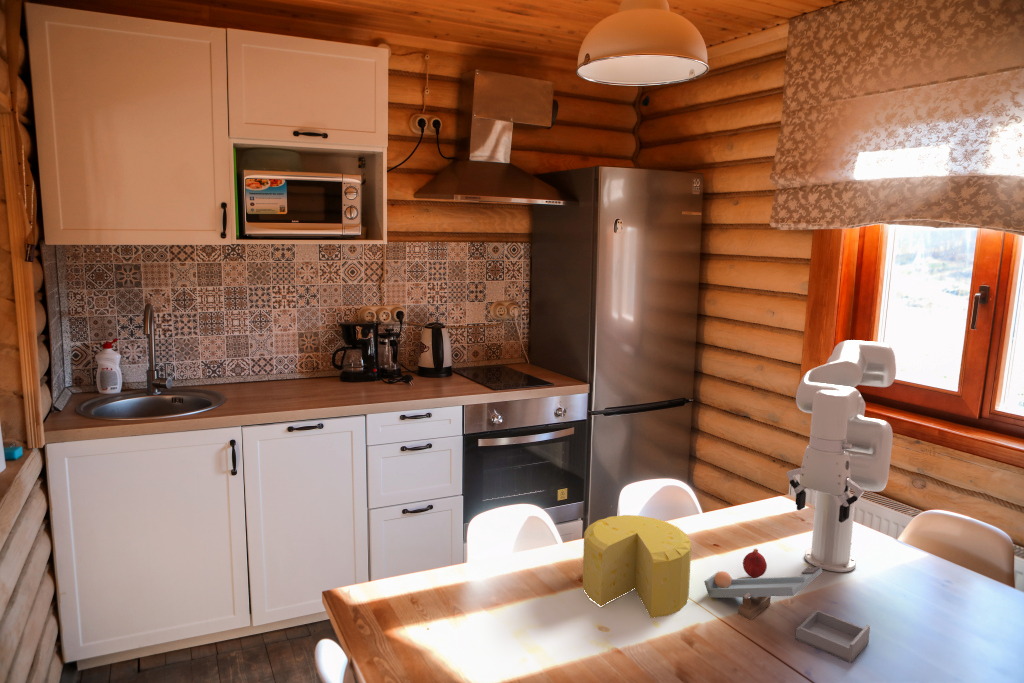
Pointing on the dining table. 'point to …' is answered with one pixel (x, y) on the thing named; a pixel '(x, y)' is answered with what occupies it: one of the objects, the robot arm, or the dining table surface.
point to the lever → (763, 585)
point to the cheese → (637, 562)
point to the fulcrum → (753, 606)
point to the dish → (833, 635)
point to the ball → (723, 579)
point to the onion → (754, 564)
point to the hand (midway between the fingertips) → (821, 514)
